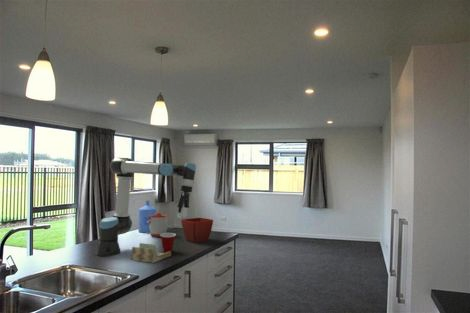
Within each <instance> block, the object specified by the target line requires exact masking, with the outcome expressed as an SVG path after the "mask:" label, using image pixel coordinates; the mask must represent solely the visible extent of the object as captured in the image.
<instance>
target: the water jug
mask: <svg viewBox="0 0 470 313" xmlns="http://www.w3.org/2000/svg"><path fill="white" fill-rule="evenodd" d="M156 214H157V208H156V207H154V206H153V205H152V206H151V205H150V200H145V205H144V206H142V207H140V208H139V209H138V229H137V230H138V232H139V233H141V234H142V233H143V234H148V233H149V234H150V229H149V223H147V221H148V220H149V216H151V215H156Z"/></svg>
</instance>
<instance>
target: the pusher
mask: <svg viewBox="0 0 470 313" xmlns="http://www.w3.org/2000/svg"><path fill="white" fill-rule="evenodd" d="M138 248H147V249H153V257H156V256H158V253H159V244H153V243H144V242H139V247H138Z"/></svg>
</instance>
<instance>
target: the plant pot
mask: <svg viewBox="0 0 470 313" xmlns="http://www.w3.org/2000/svg"><path fill="white" fill-rule="evenodd" d="M180 221H181V222H180V223H181V227H182V232H183V235H184V238H185V240H186V241H188V242H191V243H195V244H196V243H202V242H208V241H209V238H210V235H211V233H212V228H213V224H214V219H211V218H205V217H194V218H192V217H191V218H184V219H183V218H182V219H181V220H180Z"/></svg>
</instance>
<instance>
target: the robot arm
mask: <svg viewBox="0 0 470 313" xmlns="http://www.w3.org/2000/svg"><path fill="white" fill-rule="evenodd" d="M196 168H197V165H196V163H191V162H185V164H177V163H161V162H160V163H158V162H146V161H135V160H134V159H132V158H129V157H115V158H113V159H112V160H111V161H110V163H109V169H110V171H111V172H112V173H113V174H116V175H115V177H116V178H117V188H116V189H117V192H116V202H115V212H114V213H113V215H112V216H111V217H105V218H102V219H101V220H100V221H99V242H98V246H97V249H96V255H97V256H101V257H110V256H116V255H119V254H121V248H120V244H119V236H120V235H124V234H127V233H128V232H129V231H130V230H132V227H133V220H132V218H131V215H130V214H129V206H130V205H129V204H130V193H131V183H132V179H133V178H134V175H135V174H144V175H156V176H157V175H159V176H165V177H167V176H177V177H182V180H181V186H180V191H181V193H180V197H179V201H178V203H177V204H178V205H177V208H178V209H177V215H176V218H178V219H179V218H180V219H181V218H187V213H188V209H190V206H189V205H190V195H191V193H192V192H193V186H194V184H195V182H194V181H195V174H196Z"/></svg>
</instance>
